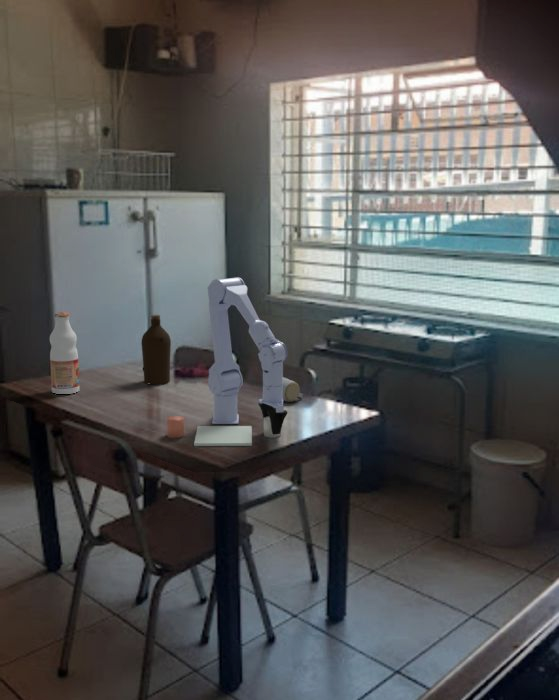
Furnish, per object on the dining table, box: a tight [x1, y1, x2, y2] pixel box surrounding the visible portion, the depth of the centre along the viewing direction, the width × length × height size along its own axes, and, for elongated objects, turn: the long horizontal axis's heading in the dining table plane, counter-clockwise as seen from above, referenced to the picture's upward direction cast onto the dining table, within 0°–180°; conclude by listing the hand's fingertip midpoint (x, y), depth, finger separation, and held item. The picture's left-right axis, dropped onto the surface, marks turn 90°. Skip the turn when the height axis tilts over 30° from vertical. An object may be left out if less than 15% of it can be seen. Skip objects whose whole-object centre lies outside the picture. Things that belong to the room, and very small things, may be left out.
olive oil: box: [141, 314, 172, 385], centre depth 279 cm, size 11×11×25 cm
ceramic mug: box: [283, 376, 304, 403], centre depth 258 cm, size 11×8×8 cm
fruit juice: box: [49, 311, 80, 395], centre depth 263 cm, size 9×9×28 cm
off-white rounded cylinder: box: [263, 416, 282, 439], centre depth 220 cm, size 5×5×5 cm
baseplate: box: [193, 425, 253, 447], centre depth 218 cm, size 16×16×1 cm
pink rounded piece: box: [166, 415, 185, 439], centre depth 219 cm, size 5×5×5 cm
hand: (272, 429), depth 220 cm, fingers open, 7 cm apart
